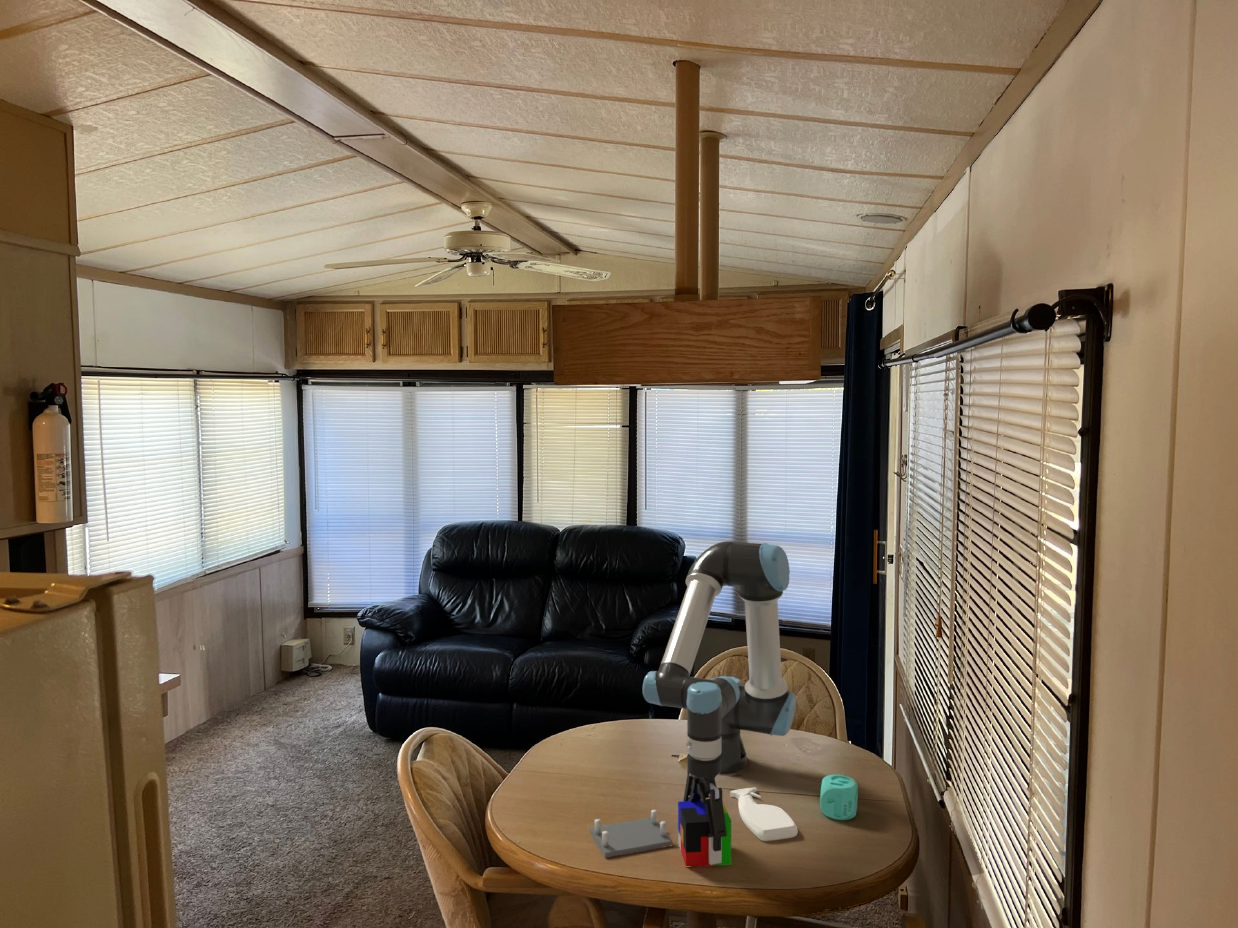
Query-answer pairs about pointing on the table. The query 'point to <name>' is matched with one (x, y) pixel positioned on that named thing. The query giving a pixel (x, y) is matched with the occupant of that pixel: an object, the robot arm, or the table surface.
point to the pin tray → (630, 836)
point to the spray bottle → (763, 817)
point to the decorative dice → (839, 797)
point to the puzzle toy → (699, 834)
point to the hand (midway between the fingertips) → (704, 849)
